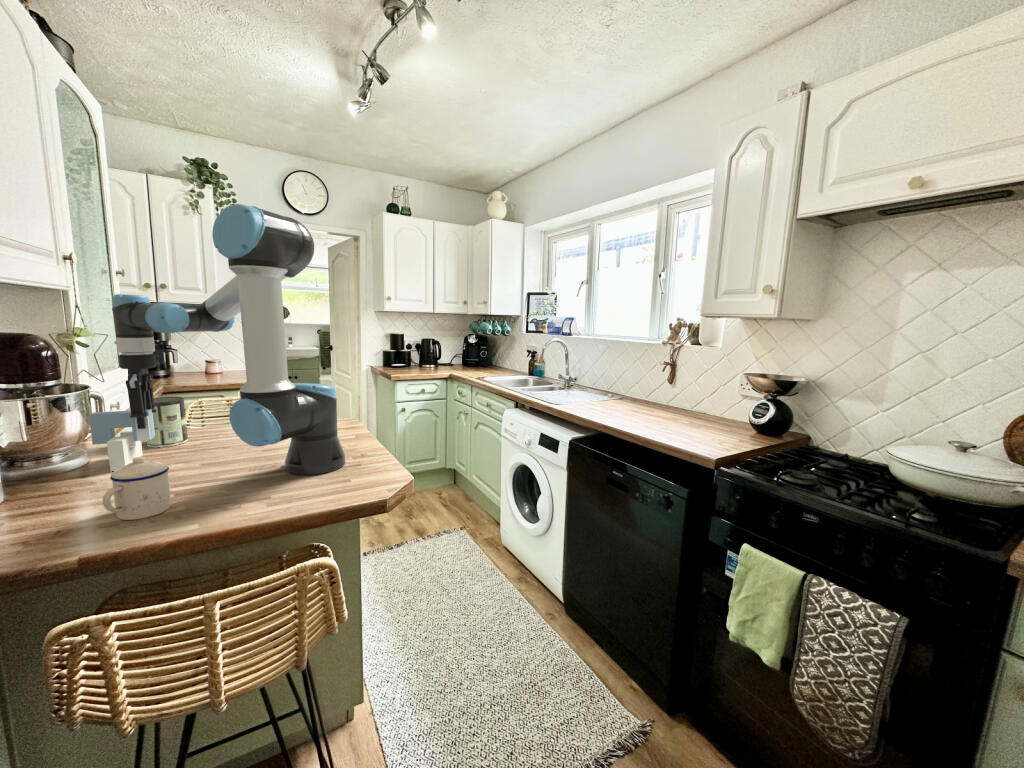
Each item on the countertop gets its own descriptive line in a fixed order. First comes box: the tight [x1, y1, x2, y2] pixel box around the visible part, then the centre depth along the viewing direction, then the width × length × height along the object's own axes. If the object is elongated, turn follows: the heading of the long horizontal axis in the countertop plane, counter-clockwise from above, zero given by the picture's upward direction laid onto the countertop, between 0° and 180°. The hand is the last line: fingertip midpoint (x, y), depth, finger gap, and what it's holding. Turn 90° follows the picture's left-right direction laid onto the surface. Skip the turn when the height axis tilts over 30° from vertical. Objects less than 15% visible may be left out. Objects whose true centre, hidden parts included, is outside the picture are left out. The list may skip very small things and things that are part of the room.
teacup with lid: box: [102, 455, 172, 521], centre depth 86 cm, size 12×9×12 cm
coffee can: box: [146, 396, 189, 448], centre depth 132 cm, size 10×10×14 cm
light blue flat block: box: [88, 409, 154, 445], centre depth 114 cm, size 3×12×8 cm, turn 117°
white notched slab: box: [106, 427, 144, 473], centre depth 115 cm, size 14×3×8 cm, turn 27°
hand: (146, 437), depth 116 cm, fingers closed on light blue flat block, 3 cm apart
